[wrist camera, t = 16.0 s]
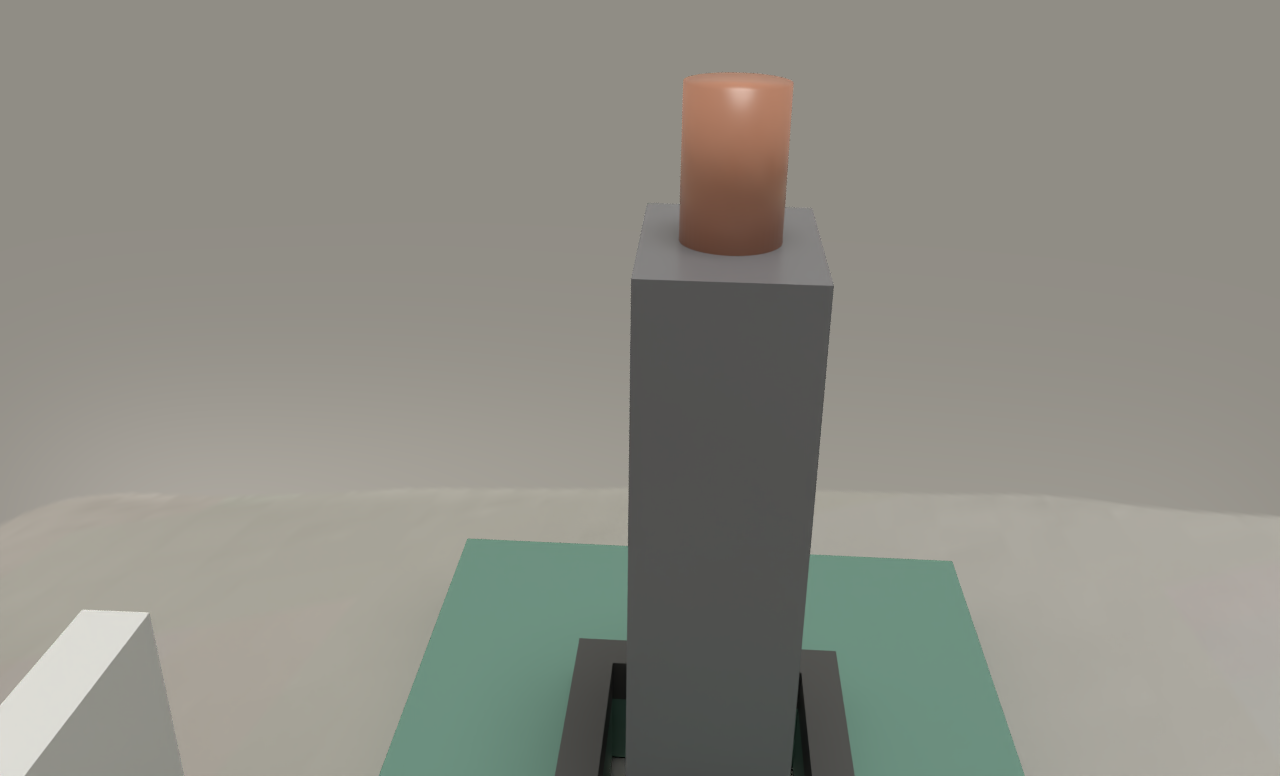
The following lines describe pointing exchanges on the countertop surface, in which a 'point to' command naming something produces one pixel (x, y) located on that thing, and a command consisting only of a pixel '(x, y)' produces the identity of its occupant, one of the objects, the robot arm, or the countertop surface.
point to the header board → (597, 670)
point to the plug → (723, 442)
